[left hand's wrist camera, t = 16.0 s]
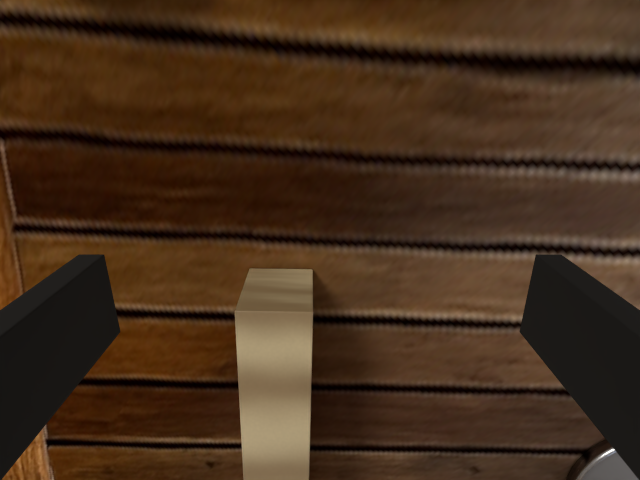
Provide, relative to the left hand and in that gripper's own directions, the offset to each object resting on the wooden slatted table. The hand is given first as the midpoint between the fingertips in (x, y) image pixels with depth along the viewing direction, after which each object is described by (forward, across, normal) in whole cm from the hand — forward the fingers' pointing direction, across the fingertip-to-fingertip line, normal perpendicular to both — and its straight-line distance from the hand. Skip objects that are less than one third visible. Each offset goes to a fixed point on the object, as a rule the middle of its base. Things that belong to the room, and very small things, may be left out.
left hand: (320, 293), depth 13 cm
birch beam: (+23, +4, +27) cm, 36 cm away
